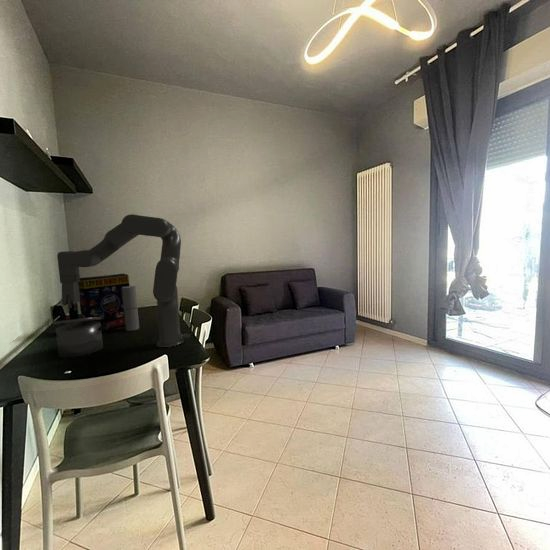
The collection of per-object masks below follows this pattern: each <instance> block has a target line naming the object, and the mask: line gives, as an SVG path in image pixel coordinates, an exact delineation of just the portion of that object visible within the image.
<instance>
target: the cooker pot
mask: <svg viewBox="0 0 550 550" xmlns="http://www.w3.org/2000/svg"><path fill="white" fill-rule="evenodd" d="M108 327H109V324H102V325H101V323H100V322H99V321H84V322H73V323H66V324H64V325H61V326H58V327H56V328H55V329H53V330H49V331H48V332H47V333H46V338H52V337H55V338H56V339H55V340H56V347H57V355H58V357H60V358H65V359H68V358H67V357H72V358H77V357H76V356H79V357H81V356H80V355H84V356H87V355H86V354H88V355H91V354H90V353H92V354H94V353H93V352H95V353H97V352H99V351H101V350H103V348H104V344H103V343H104V341H103V333H102V332H103V331H107V330H109V329H108ZM101 330H103V331H101ZM100 349H101V350H100ZM98 350H99V351H98ZM96 351H97V352H96Z"/></svg>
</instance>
